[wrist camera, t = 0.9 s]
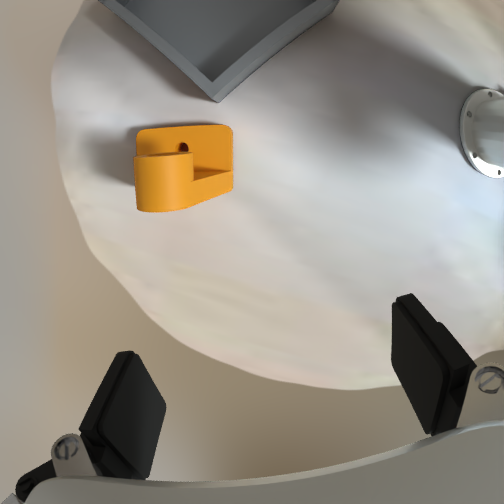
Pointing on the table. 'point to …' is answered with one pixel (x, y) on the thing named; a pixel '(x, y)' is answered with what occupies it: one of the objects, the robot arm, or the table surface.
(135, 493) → the robot arm
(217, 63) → the tray
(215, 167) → the bracket
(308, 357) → the table surface
